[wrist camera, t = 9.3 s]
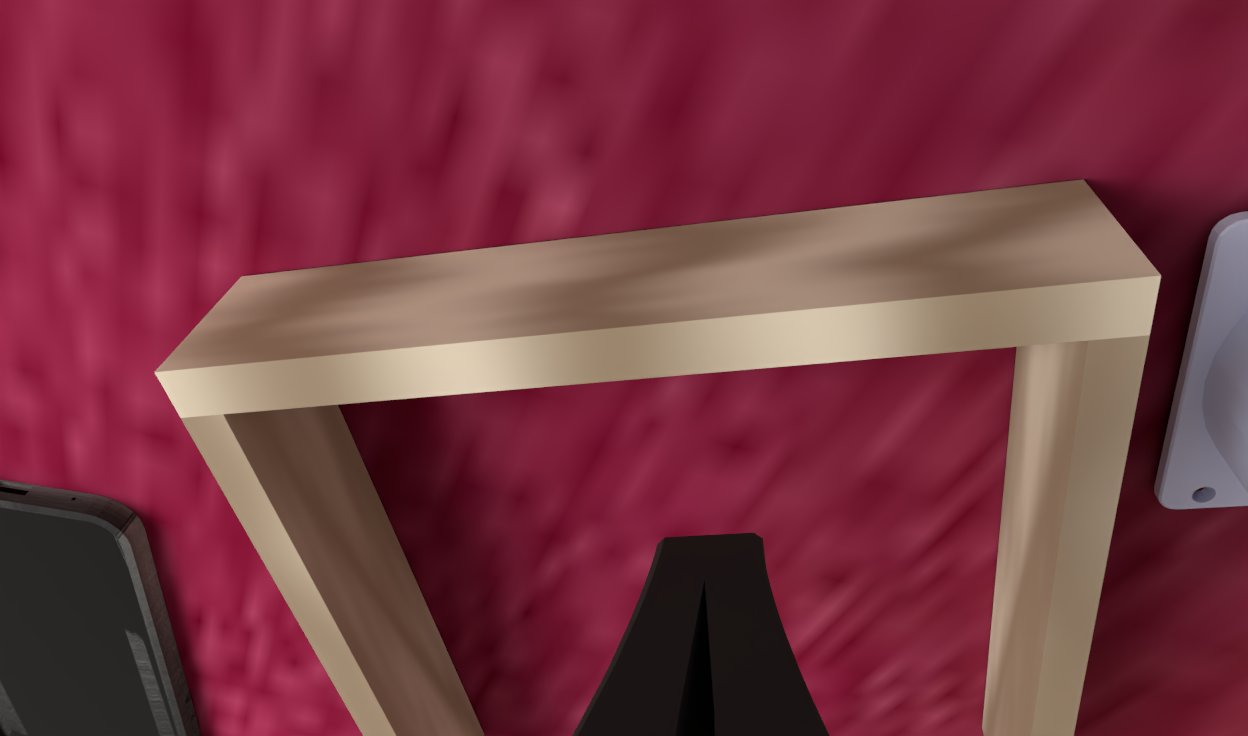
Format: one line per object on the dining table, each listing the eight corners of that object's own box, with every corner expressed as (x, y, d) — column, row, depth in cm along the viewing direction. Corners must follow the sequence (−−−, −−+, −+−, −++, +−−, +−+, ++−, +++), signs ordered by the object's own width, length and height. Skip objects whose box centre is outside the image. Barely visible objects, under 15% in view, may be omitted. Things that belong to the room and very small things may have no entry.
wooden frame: (1083, 179, 18) (1161, 274, 15) (1014, 726, 29) (1051, 852, 25) (241, 276, 21) (154, 372, 18) (457, 734, 32) (427, 847, 29)
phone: (6, 757, 35) (-140, 478, 26) (24, 731, 36) (-110, 453, 27) (204, 789, 35) (126, 521, 26) (218, 762, 36) (146, 494, 27)
